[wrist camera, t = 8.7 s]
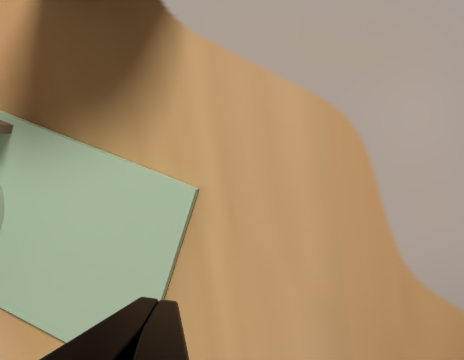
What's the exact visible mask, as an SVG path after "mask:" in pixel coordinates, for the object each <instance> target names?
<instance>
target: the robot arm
mask: <svg viewBox="0 0 464 360" xmlns="http://www.w3.org/2000/svg"><path fill="white" fill-rule="evenodd" d="M40 360H189V356H188V351H187V347H186V342H185V337H184V332H183V327H182V322H181V317H180V312H179V307H178V303H177V302H176V301H170V300H163V299H162V300H160V301H158V299H156V298H149V297H140V298H138V299H136V300H135V301H133V302H132V303H130V304H128V305H127V306H125V307H124V308H122V309H120V310H119V311H117V312H115V313H114V314H112V315H111V316H109V317H107V318H106V319H104V320H103V321H101V322H99V323H98V324H96V325H95V326H93V327H91V328H90V329H88V330H86V331H85V332H83V333H82V334H80V335H78V336H77V337H75V338H74V339H72V340H70V341H69V342H67V343H66V344H64V345H62V346H61V347H59V348H57V349H56V350H54V351H53V352H51V353H49V354H48V355H46V356H45V357H43V358H41V359H40Z"/></svg>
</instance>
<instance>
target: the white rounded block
mask: <svg viewBox="0 0 464 360" xmlns="http://www.w3.org/2000/svg"><path fill="white" fill-rule="evenodd" d="M4 209H5V208H4V195H3V191H2V187H1V185H0V228H1V225H2V222H3V218H4Z"/></svg>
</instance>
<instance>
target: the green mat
mask: <svg viewBox="0 0 464 360" xmlns="http://www.w3.org/2000/svg"><path fill="white" fill-rule="evenodd" d="M0 120H2V121H5V122H7V123H10V124H12V125H13V129H12V133H11V134H0V185H1V187H2V191H3V195H4V208H5V209H4V218H3V222H2V225H1V228H0V308H2V309H4V310H6V311H8V312H10V313H11V314H13V315H15V316H17V317H19V318H21V319H23V320H25V321H27V322H28V323H30V324H32V325H34V326H36V327H38V328H40V329H42V330H43V331H45V332H47V333H49V334H51V335H53V336H55V337H57V338H59V339H60V340H62V341H64V342H66V343H67V342H69V341H70V340H72V339H74V338H75V337H77V336H78V335H80V334H82V333H83V332H85V331H86V330H88V329H90V328H91V327H93V326H95V325H96V324H98V323H99V322H101V321H103V320H104V319H106V318H107V317H109V316H111V315H112V314H114V313H115V312H117V311H119V310H120V309H122V308H124V307H125V306H127V305H128V304H130V303H132V302H133V301H135V300H136V299H138V298H140V297H149V298H156V299H158V301H160V300H162V299H163V300H164V298H165V295H166V291H167V288H168V285H169V282H170V279H171V276H172V273H173V270H174V266H175V263H176V260H177V257H178V254H179V251H180V248H181V245H182V241H183V238H184V235H185V232H186V229H187V226H188V223H189V220H190V216H191V213H192V210H193V207H194V204H195V201H196V198H197V195H198V192H199V188H197V187H194V186H192V185H189V184H187V183H184V182H182V181H179V180H177V179H174V178H171V177H169V176H166V175H164V174H161V173H159V172H156V171H154V170H151V169H149V168H146V167H144V166H141V165H139V164H136V163H133V162H131V161H128V160H126V159H123V158H121V157H118V156H116V155H113V154H111V153H108V152H106V151H103V150H101V149H98V148H95V147H93V146H90V145H88V144H85V143H83V142H80V141H78V140H75V139H73V138H70V137H68V136H65V135H63V134H60V133H57V132H55V131H52V130H50V129H47V128H45V127H42V126H40V125H37V124H35V123H32V122H30V121H27V120H24V119H22V118H19V117H17V116H14V115H12V114H9V113H7V112H4V111H2V110H0Z"/></svg>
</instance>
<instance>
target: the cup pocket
mask: <svg viewBox="0 0 464 360" xmlns="http://www.w3.org/2000/svg"><path fill="white" fill-rule="evenodd" d="M12 129H13V125H12V124H10V123H7V122H5V121H2V120H0V134H11V133H12Z"/></svg>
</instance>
